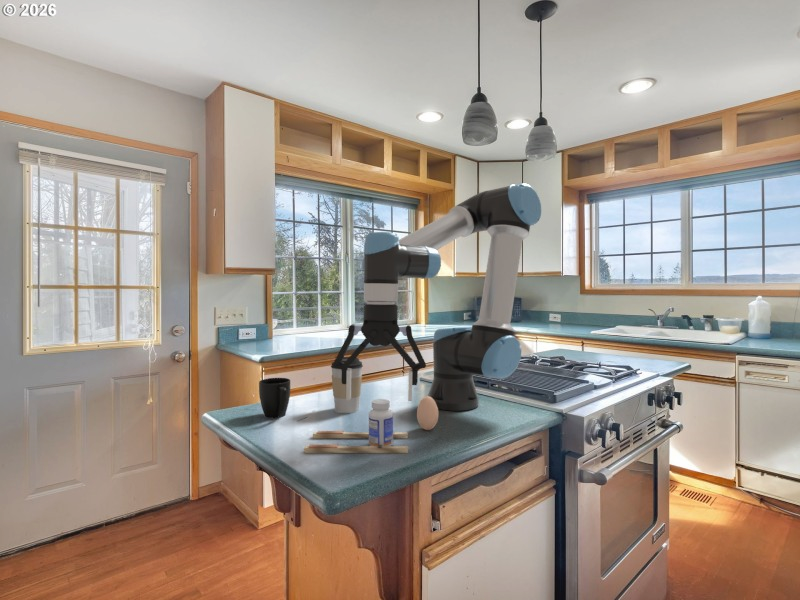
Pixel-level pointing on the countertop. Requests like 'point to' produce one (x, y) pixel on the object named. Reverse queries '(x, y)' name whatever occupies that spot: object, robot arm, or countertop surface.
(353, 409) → the coffee cup
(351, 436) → the beam track
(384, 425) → the pill bottle
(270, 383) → the mug
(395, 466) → the countertop surface
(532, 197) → the robot arm
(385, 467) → the countertop surface
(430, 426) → the egg
